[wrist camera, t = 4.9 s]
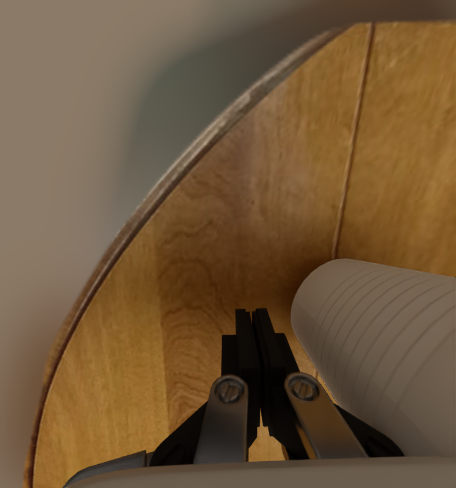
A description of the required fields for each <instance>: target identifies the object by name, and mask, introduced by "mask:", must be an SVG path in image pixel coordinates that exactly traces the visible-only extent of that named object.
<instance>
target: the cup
mask: <svg viewBox="0 0 456 488" xmlns="http://www.w3.org/2000/svg"><path fill="white" fill-rule="evenodd" d="M291 326H292V329H293V332H294V334H295V336H296V337H297V339H298V341H299V342H300V344H301V346H302V347H303V349H304V351H305V352H306V354H307V356H308V357H309V359H310V360H311V362H312V363H313V365H314V367H315V368H316V370H317V371H318V373H319V375H320V377H321V378H322V380H323V381H324V383H325V385H326V386H327V388H328V389H329V391H330V392H331V394H332V396H333V398H334V399H335V401H336V402H337V404H338V406H339V407H341V408H342V409H344V410H346V411H347V412H349V413H350V414H352V415H354V416H355V417H357V418H358V419H360V420H362V421H363V422H365V423H366V424H368V425H370V426H371V427H373V428H375V429H376V430H378V431H379V432H381V433H383V434H384V435H386V436H387V437H388V438H390V439H391V440H392V441H393V442H394V443H395V444H396V445H397V446H398V447H399V448H400V449H401V451H402V452H403V454H404V455H405V457H430V456H445V457H456V277H449V276H445V275H439V274H432V273H428V272H421V271H417V270H410V269H405V268H398V267H394V266H387V265H383V264H377V263H372V262H366V261H360V260H354V259H348V258H342V259H335V260H332V261H329V262H327V263H325V264H323V265H321V266H319V267H318V268H317V269H315V270H314V271H313V272H311V273H310V274H309V276H308V277H307V278H306V279H305V280H304V281H303V283H302V284H301V286H300V287H299V289H298V291H297V293H296V295H295V297H294V300H293V303H292V307H291Z"/></svg>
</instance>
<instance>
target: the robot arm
mask: <svg viewBox="0 0 456 488" xmlns="http://www.w3.org/2000/svg"><path fill="white" fill-rule="evenodd" d="M235 316H236V335H222V362H221V377H219V378H217V379H216V380H215V381H214V383H213V384H212V387H211V390H210V394H209V399H208V401H207V402H206V403H205V404H204V405H202V406H201V407H200V408H199V409H198V410H197V411H196V412H195V413H194V414H193V415H191V416H190V417H189V418H188V419H187V420H186V421H185V422H184V423H183V424H182V425H180V426H179V427H178V428H177V429H176V430H175V431H174V432H173V433H172V434H171V435H169V436H168V437H167V438H166V439H165V440H164V441H163V442H162V443H161V444H160V445H159V446H158V447H157V448H156V450H155V451H153V452H150V453H147V454H146V450H144V451H141V452H137V453H134V454H131V455H127V456H124V457H120V458H117V459H114V460H110V461H107V462H104V463H100V464H97V465H94V466H90V467H87V468H85V469H83V470H81V471H79V472H77V473H76V474H75V475H74V476H73V477H71V478H70V479H69V480H68V481H67V483H66V484H65V485H64V486H63V488H456V457H445V456H430V457H405V455H404V454H403V452H402V451H401V449H400V448H399V447H398V446H397V445H396V444H395V443H394V442H393V441H392V440H391V439H390V438H388V437H387V436H386V435H384V434H383V433H381V432H379V431H378V430H376V429H375V428H373V427H371V426H370V425H368V424H366V423H365V422H363V421H362V420H360V419H358V418H357V417H355V416H354V415H352V414H350V413H349V412H347V411H346V410H344V409H342V408H341V407H339V406H338V405H336V404H334V403H333V402H332V400H331V399H330V397H329V396H328V394H327V393H326V391H325V390H324V388H323V387H322V385H321V384H320V383H319V381H318V380H317V379H316V378H314V377H313V376H311V375H309V374H307V373H303V372H300V370H299V368H298V365H297V363H296V361H295V358H294V356H293V353H292V351H291V348H290V346H289V343H288V341H287V338H286V336H285V334H284V333H275V332H274V329H273V326H272V323H271V320H270V317H269V314H268V311H267V309H266V308H258V309H256V311H252V322H251V317H250V312H246V309H235ZM260 409H261V415H262V422H263V426H264V427H266V426H268V430H269V435H270V436H273V437H274V438H275V439H277V440H278V441H279V442H280V443H281V447H282V452H283V455H284V458H285V461H259V462H248V461H249V447H250V446H251V445H252V443H253V442H254V441H255V439H256V438H257V427H260Z"/></svg>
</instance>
